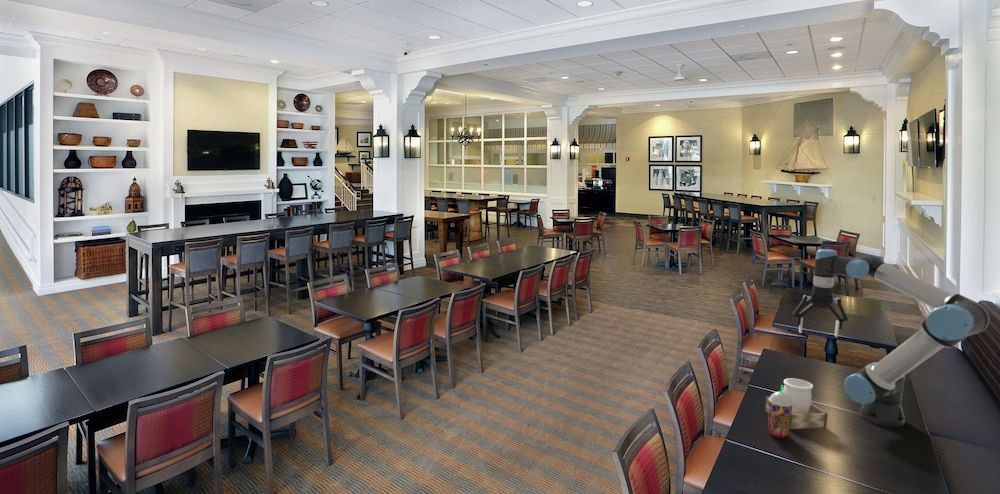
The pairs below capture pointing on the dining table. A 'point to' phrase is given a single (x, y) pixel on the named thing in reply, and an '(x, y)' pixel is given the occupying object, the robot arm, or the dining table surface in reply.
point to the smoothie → (779, 413)
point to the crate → (806, 418)
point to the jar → (798, 394)
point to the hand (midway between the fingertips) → (818, 334)
